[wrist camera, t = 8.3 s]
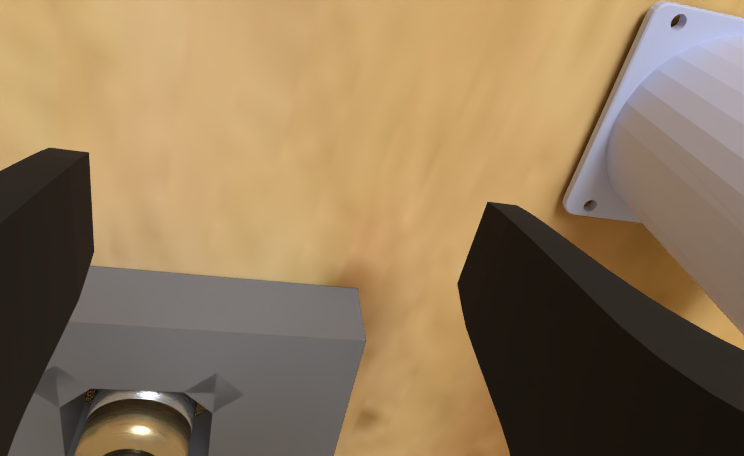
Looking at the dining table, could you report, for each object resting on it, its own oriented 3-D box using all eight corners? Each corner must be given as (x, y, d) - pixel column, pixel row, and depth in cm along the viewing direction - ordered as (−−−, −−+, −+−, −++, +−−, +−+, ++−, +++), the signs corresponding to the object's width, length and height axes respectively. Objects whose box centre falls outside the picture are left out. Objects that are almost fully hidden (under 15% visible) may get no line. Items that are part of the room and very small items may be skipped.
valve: (197, 340, 25) (179, 441, 21) (203, 402, 27) (188, 506, 23) (96, 342, 24) (57, 447, 20) (111, 406, 26) (79, 513, 22)
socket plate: (357, 288, 24) (365, 340, 22) (312, 465, 31) (314, 521, 28) (-86, 251, 21) (-135, 308, 18) (-33, 459, 27) (-64, 523, 25)
